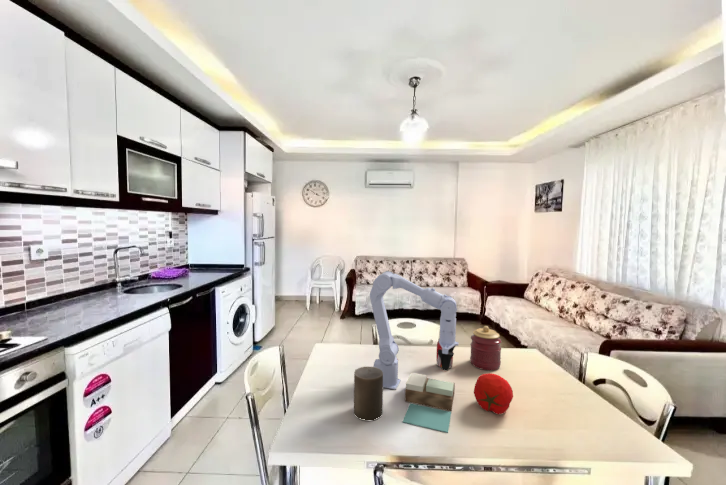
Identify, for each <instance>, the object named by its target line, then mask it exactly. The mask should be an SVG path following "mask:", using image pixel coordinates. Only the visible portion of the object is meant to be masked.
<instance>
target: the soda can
mask: <svg viewBox="0 0 726 485" xmlns="http://www.w3.org/2000/svg"><path fill="white" fill-rule="evenodd" d="M439 340H440V337H439V338H438V341H437V342H436V365H437V366H438V367H439V368H441V369H442V365H441V360H440V357H439V355H438V349H439V350H442V347H441V345H440V344H439ZM453 361H454V356H453V357H452V358H451V362H450V366H449V369H450V368H452V367H453Z"/></svg>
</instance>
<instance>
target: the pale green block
mask: <svg viewBox="0 0 726 485" xmlns="http://www.w3.org/2000/svg"><path fill="white" fill-rule="evenodd" d="M454 383H455V382H451V381H445V380H440V379H437V378H434V379H433V378H429V379H428V382H427V385H426V392H431V393H436V394H441V395H447V396H453V390H454ZM454 391H455V390H454Z"/></svg>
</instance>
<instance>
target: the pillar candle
mask: <svg viewBox="0 0 726 485" xmlns="http://www.w3.org/2000/svg"><path fill="white" fill-rule="evenodd" d="M353 374H354V375H353V376H354V377H353V378H354V379H353V383H354V384H353V415H354V414H355V415H356V416H357V417H358V418H357V417H356V416H355V415H354V416H355V417H356V418H357V419H359V418H361V419H365V420H373V421H375V420H374V419H376V418H378V417H380V416H381V415H383V403H384V400H383V398H384V392H383V390H384V387H383V372H382V370H380V369H378V368H376V367H373V366H361V367H358V368H356V369H355V370H354V373H353ZM381 417H382V416H381ZM381 417H380V418H381Z"/></svg>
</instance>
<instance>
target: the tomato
mask: <svg viewBox="0 0 726 485" xmlns="http://www.w3.org/2000/svg"><path fill="white" fill-rule="evenodd" d="M473 395H474V397H475V402H476V403H477V405H479V407H481V409H482V410H484V411H485V412H493V413H494V414H497V415H502V414H505V413H506V412H507V411H508V410H509V408H510V404H511V403H512V401H513V398H514V393H513V388H512V386H511V384H510V383H509V382H508V381H507V380H506V379H505V378H504V377H502V376H500V375H499V374H496V373H492V372H491V373H490V372H489V373H482V374H481V375H479V376H478V377H477V379H476V382H475V384H474V389H473Z"/></svg>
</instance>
